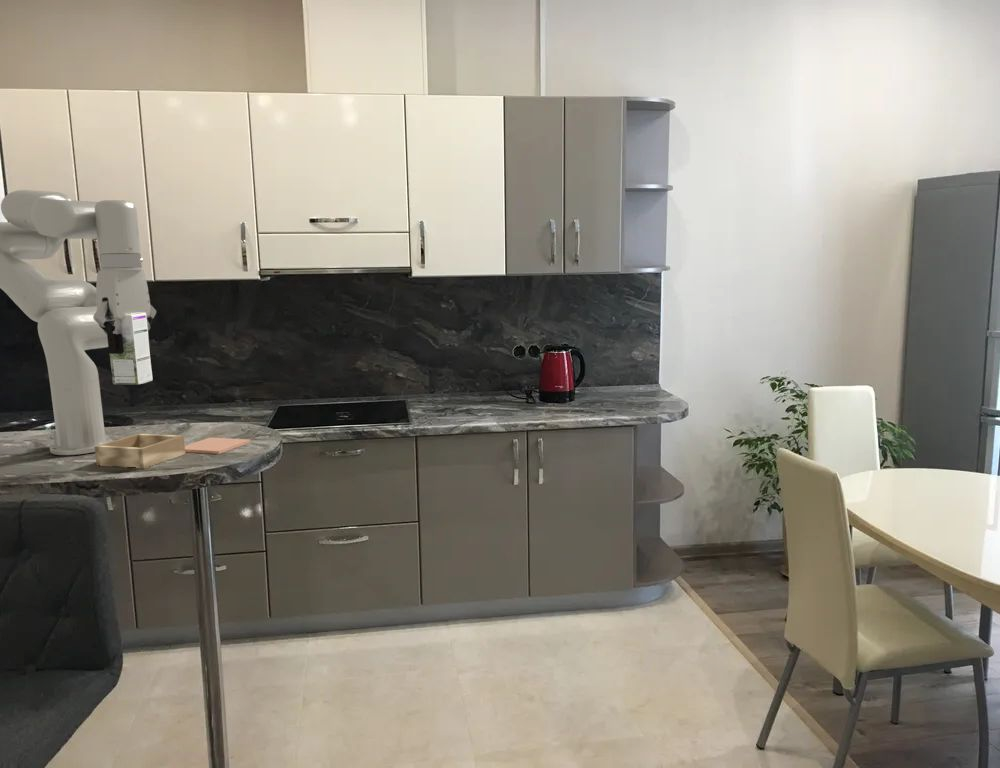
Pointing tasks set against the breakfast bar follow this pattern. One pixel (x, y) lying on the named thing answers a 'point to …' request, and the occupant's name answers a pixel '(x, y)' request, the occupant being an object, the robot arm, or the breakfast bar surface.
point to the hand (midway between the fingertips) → (129, 350)
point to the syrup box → (132, 352)
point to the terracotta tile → (215, 445)
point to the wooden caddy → (140, 450)
